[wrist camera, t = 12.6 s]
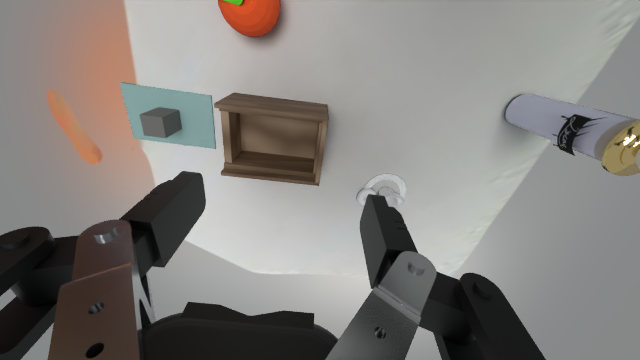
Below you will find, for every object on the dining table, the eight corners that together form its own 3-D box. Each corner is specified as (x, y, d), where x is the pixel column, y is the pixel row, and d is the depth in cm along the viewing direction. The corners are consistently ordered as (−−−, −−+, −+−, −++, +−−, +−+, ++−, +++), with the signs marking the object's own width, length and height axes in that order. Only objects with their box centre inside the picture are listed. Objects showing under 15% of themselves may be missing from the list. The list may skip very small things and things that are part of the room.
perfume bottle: (544, 85, 35) (770, 127, 17) (532, 124, 37) (715, 193, 20) (503, 91, 35) (682, 137, 18) (494, 129, 38) (641, 201, 20)
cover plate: (123, 82, 35) (93, 87, 31) (213, 94, 36) (197, 102, 31) (137, 136, 39) (112, 148, 35) (217, 147, 40) (203, 160, 36)
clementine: (222, 32, 31) (198, 28, 25) (218, -37, 28) (189, -60, 22) (282, 41, 32) (273, 41, 26) (286, -25, 29) (276, -44, 22)
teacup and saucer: (352, 201, 45) (354, 214, 42) (368, 166, 42) (373, 177, 38) (393, 213, 47) (399, 226, 43) (413, 179, 43) (421, 191, 39)
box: (233, 92, 35) (214, 103, 29) (327, 104, 36) (328, 117, 30) (237, 154, 40) (221, 175, 34) (319, 163, 41) (318, 185, 34)
